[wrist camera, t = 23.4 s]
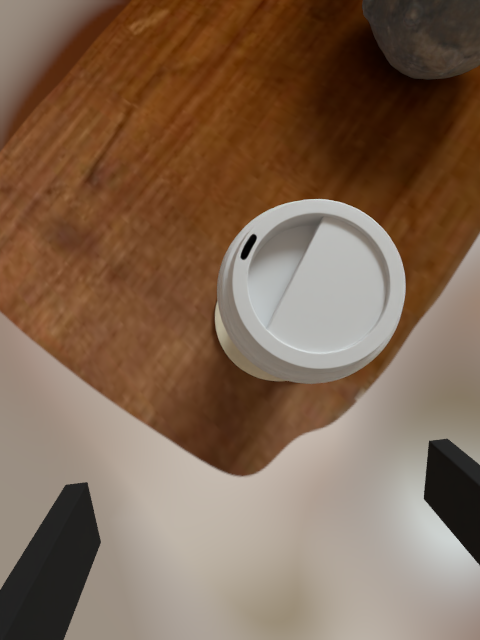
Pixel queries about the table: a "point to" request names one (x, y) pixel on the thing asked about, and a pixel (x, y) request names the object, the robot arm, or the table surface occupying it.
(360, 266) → the coffee cup
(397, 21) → the bowl
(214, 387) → the table surface
